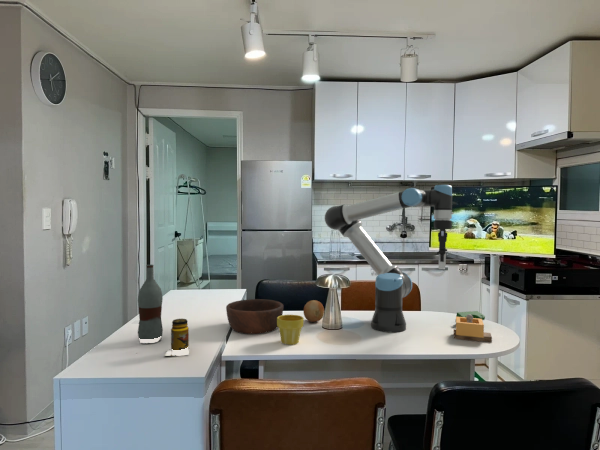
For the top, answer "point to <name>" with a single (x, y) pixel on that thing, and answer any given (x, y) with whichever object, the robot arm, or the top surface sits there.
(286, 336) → the plant pot
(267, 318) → the wooden bowl
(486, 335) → the brown block with peg
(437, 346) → the top surface
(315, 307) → the brown oval piece
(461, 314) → the clamp
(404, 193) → the robot arm
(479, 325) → the orange hollow square frame
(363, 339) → the top surface
